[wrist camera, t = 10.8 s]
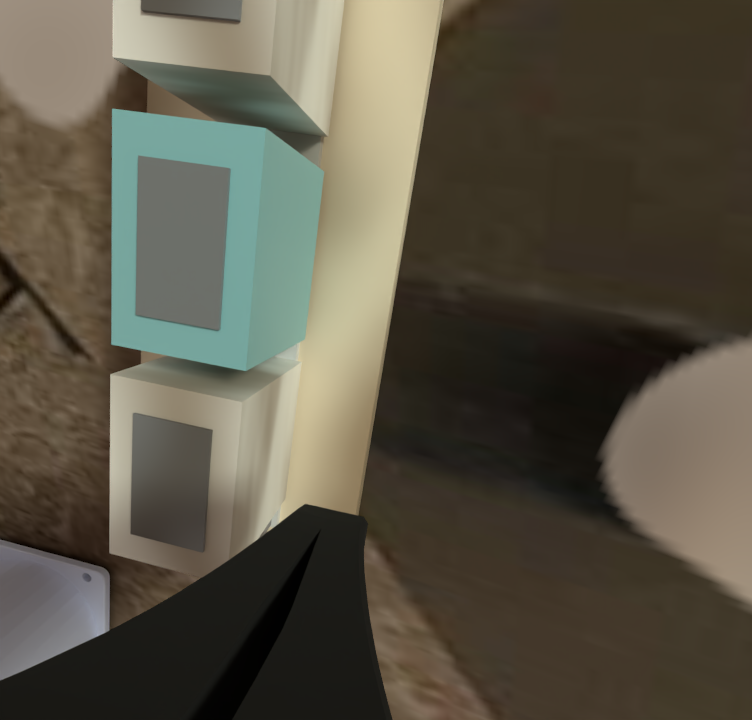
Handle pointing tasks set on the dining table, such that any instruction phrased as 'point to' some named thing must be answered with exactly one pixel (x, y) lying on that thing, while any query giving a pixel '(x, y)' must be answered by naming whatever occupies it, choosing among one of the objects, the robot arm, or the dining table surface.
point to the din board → (329, 279)
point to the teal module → (210, 239)
